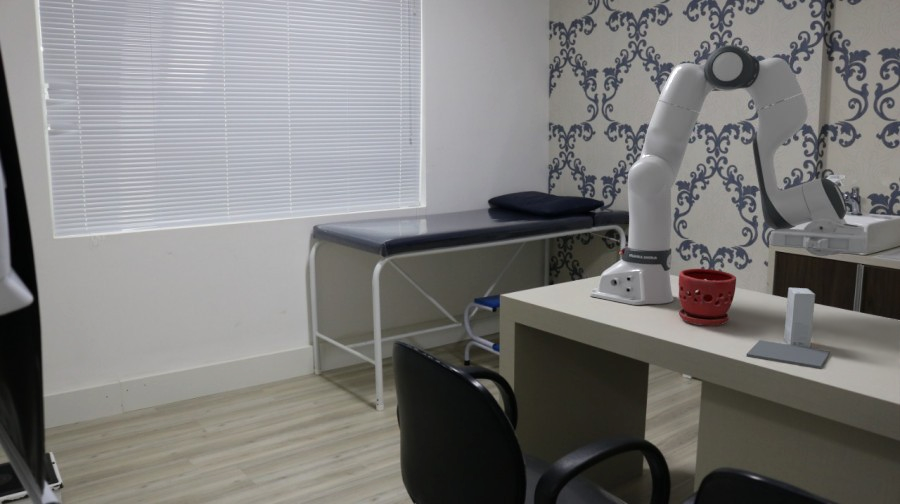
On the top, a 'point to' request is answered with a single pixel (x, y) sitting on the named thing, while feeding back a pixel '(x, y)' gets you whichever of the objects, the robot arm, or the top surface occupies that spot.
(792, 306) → the skincare box
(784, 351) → the slate mat
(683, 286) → the plant pot
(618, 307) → the top surface
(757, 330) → the top surface
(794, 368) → the top surface
